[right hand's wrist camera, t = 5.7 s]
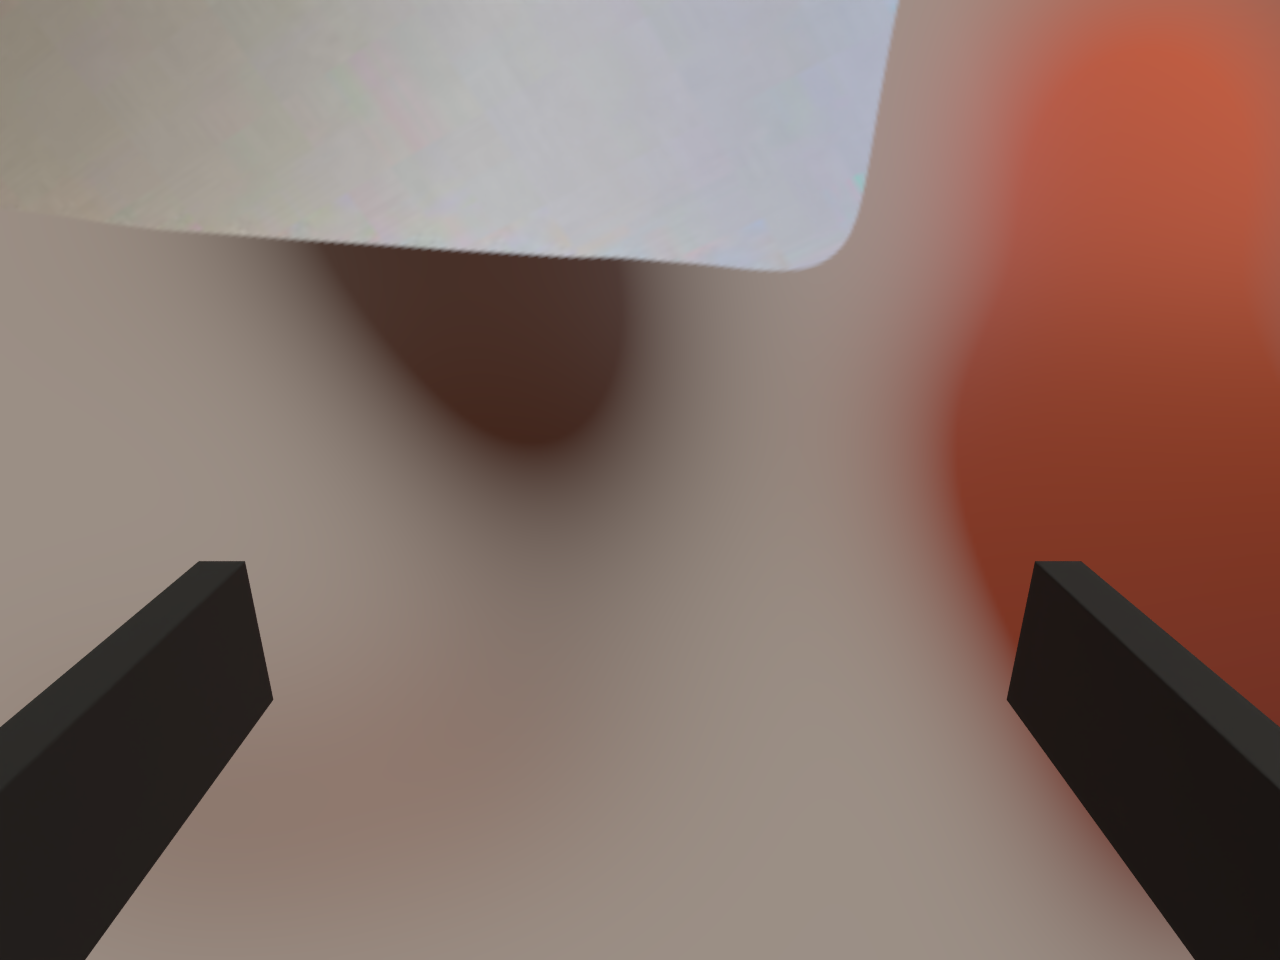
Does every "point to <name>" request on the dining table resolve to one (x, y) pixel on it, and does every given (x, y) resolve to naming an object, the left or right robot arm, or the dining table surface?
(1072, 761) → the right robot arm
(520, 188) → the dining table surface
